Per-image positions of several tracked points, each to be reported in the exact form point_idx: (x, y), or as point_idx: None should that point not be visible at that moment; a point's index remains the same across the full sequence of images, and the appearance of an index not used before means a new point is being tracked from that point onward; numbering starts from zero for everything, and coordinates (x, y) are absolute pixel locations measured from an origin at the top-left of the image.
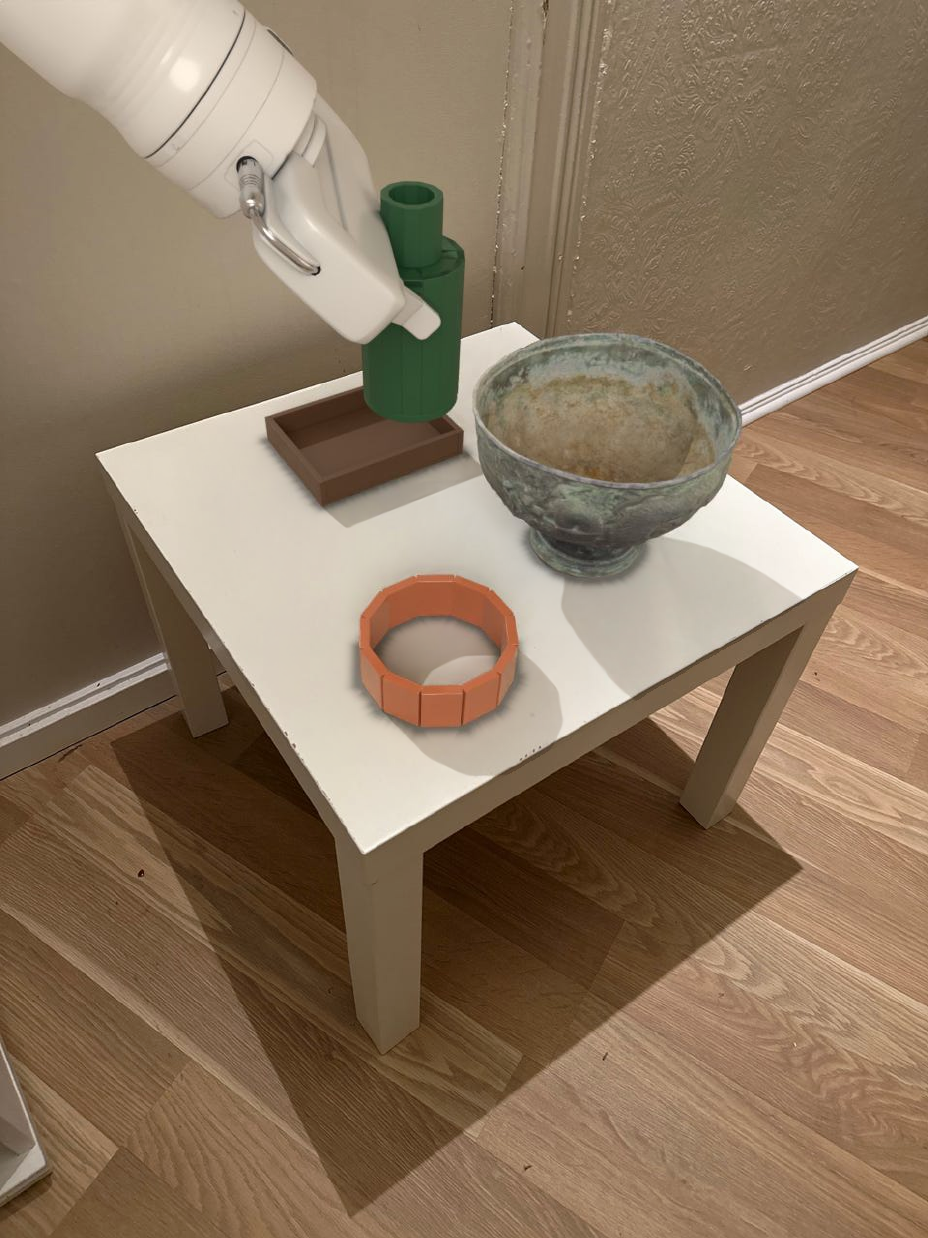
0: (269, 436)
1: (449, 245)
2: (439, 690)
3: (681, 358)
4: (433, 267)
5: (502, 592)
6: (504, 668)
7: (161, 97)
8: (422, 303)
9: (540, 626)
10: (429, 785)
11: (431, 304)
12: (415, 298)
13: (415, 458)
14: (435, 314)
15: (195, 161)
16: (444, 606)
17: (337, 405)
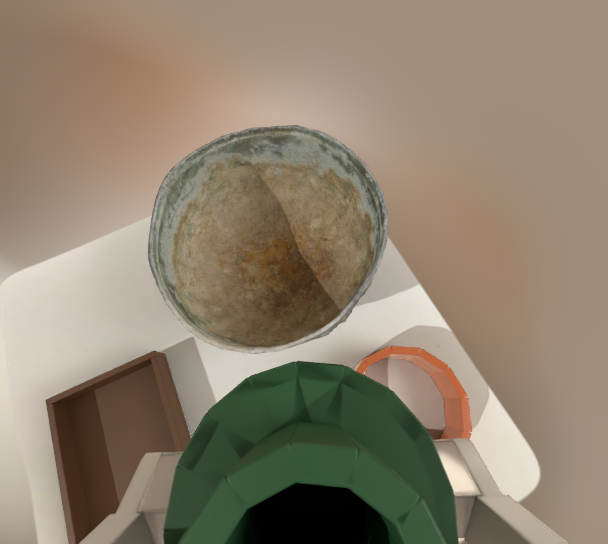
0: None
1: (274, 394)
2: (467, 416)
3: (211, 146)
4: (386, 454)
5: (328, 347)
6: (443, 362)
7: None
8: (509, 496)
9: (361, 325)
10: (499, 426)
11: (442, 458)
12: (552, 530)
13: (173, 400)
14: (478, 453)
15: None
16: None
17: (72, 477)
